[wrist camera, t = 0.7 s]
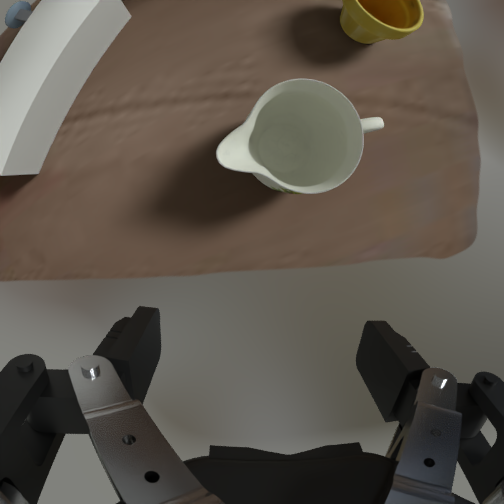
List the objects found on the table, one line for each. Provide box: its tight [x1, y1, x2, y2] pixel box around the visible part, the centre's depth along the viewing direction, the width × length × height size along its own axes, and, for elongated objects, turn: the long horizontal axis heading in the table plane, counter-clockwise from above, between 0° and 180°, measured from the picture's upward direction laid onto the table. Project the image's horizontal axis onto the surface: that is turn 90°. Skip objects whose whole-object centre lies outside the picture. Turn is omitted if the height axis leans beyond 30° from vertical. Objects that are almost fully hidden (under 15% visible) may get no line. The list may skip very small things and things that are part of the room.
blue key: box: [5, 1, 33, 28], centre depth 24 cm, size 8×4×4 cm, turn 58°
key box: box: [0, 0, 131, 176], centre depth 28 cm, size 10×26×9 cm, turn 148°
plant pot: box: [340, 0, 423, 44], centre depth 29 cm, size 10×10×10 cm
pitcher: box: [216, 79, 384, 194], centre depth 31 cm, size 11×18×14 cm, turn 106°
